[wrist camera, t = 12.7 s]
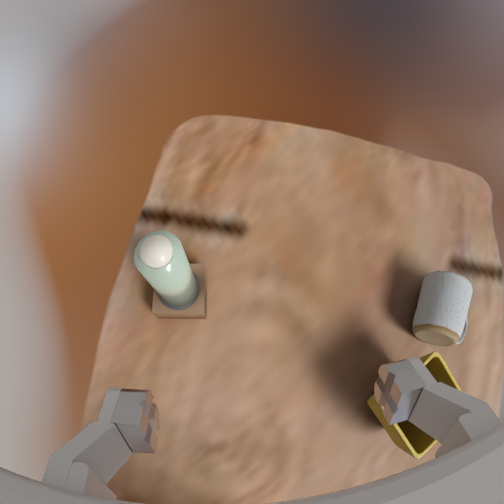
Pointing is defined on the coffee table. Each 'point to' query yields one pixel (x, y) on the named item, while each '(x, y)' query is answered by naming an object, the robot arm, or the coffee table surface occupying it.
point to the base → (193, 308)
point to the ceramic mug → (442, 308)
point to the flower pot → (405, 431)
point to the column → (166, 267)
